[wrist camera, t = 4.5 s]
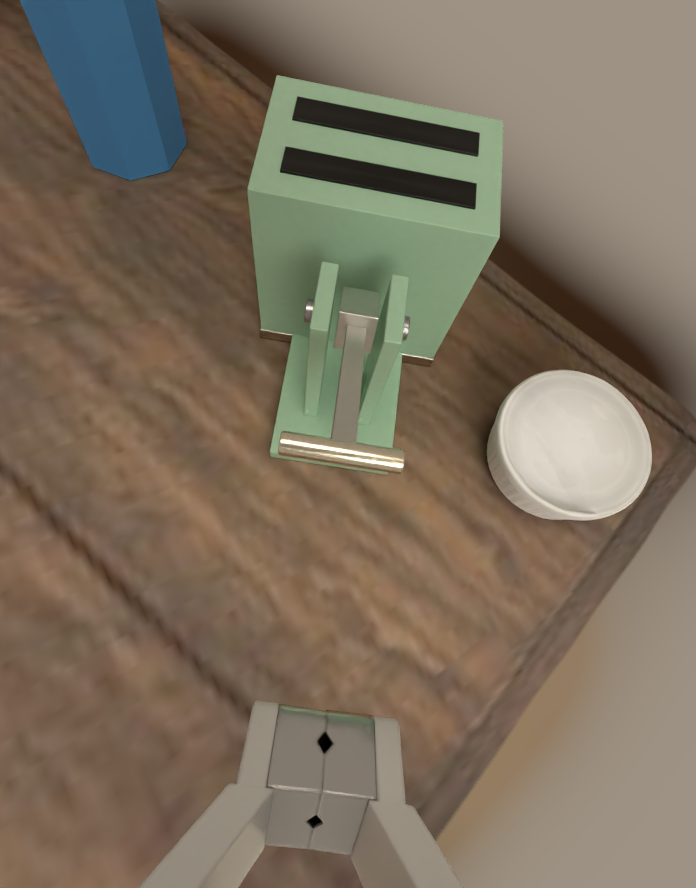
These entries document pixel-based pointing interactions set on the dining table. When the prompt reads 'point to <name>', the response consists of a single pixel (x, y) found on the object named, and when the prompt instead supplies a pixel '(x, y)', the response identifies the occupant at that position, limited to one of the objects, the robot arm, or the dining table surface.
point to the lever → (348, 395)
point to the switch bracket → (319, 367)
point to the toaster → (371, 206)
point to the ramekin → (569, 447)
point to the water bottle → (113, 80)
